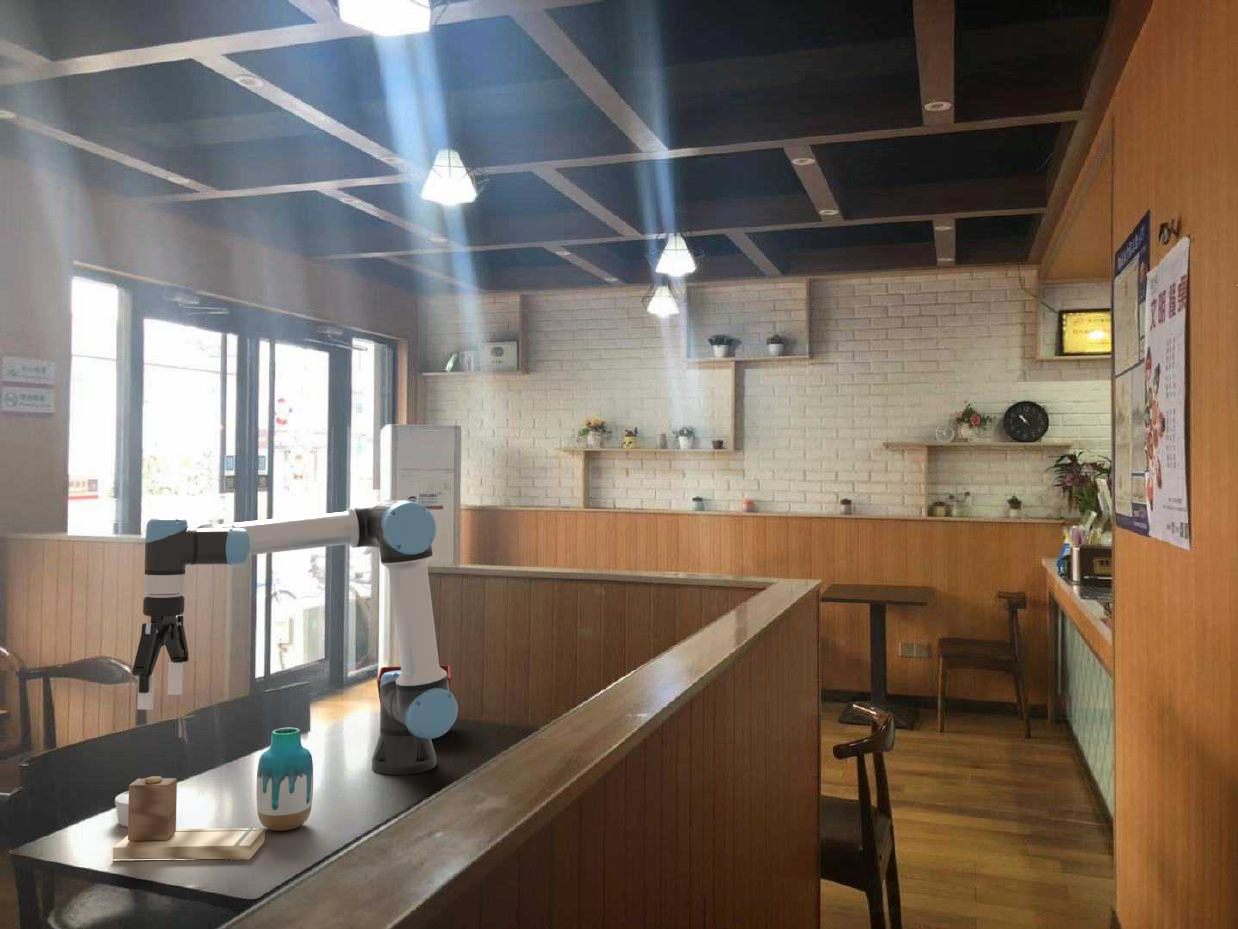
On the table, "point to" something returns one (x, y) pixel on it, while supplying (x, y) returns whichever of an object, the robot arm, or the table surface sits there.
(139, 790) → the tan boxy wooden piece
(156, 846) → the board
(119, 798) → the ramekin
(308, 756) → the vase
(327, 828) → the table surface
